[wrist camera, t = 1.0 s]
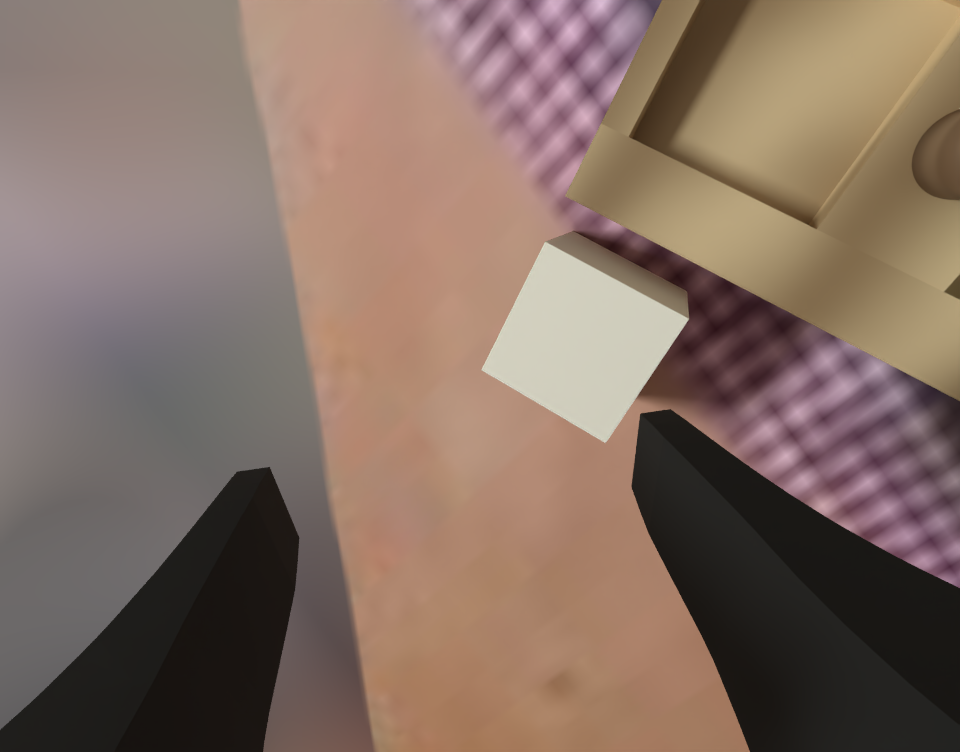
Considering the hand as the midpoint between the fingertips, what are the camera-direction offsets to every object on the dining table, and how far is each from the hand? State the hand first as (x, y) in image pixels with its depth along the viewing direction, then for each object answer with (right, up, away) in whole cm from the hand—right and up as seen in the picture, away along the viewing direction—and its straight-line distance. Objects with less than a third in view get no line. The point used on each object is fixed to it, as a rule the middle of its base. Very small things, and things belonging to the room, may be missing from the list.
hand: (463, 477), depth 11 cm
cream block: (+5, +5, +11) cm, 13 cm away
